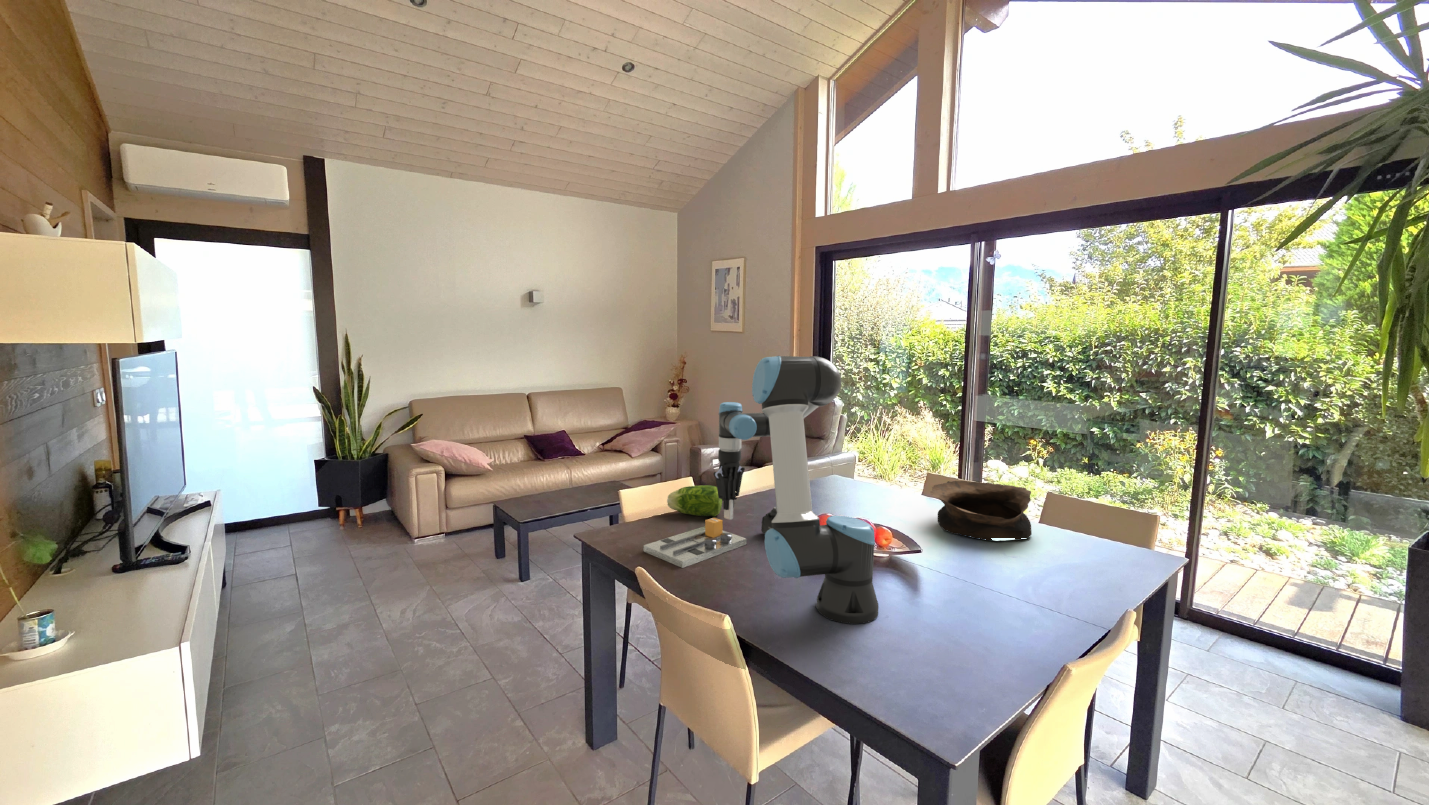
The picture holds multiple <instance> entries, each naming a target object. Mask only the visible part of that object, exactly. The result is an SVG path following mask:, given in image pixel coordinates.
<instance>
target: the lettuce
mask: <svg viewBox="0 0 1429 805" xmlns="http://www.w3.org/2000/svg"><path fill="white" fill-rule="evenodd" d="M666 503H667V506H668V507H669V508H670V509H671V510H674V511H677V512H678V513H681V514H684V515H689V516H691V515H692V516H697V517H712V518H715V517H716V516H718V515H719V514H720V513H721V510H722V506H723V499H720V498H719V496H718V490H717V485H716V486H715V485H710V484H709V485H708V484H707V485H704V484H703V485H687V486H684V487H681V488H679V489H677V490H674V491H672V492H670V493H669V494H668V495H667V500H666Z"/></svg>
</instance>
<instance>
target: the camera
mask: <svg viewBox="0 0 1429 805" xmlns="http://www.w3.org/2000/svg"><path fill="white" fill-rule="evenodd" d="M776 515H777V507H776V506H773V508H772V509H771V510H770V511H769V512H767V513H765V515H764V516H762V518H761V533H762V534H764V535H765V533H766V532H767V531H768V530H769V529H772V520H773V519H774V518H775V516H776Z"/></svg>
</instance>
